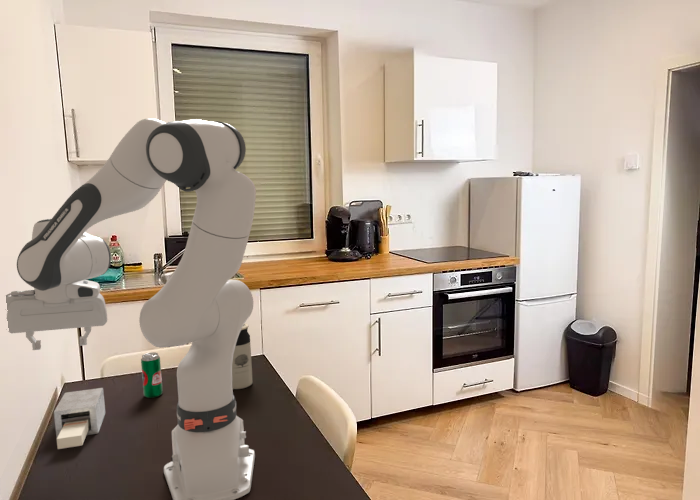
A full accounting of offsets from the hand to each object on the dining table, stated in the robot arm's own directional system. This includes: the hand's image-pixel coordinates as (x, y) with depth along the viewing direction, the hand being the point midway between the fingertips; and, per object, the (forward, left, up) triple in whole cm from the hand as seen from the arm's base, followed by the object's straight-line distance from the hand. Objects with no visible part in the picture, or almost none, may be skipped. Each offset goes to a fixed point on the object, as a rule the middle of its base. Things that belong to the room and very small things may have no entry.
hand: (60, 346), depth 121 cm
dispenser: (+8, -1, -23) cm, 24 cm away
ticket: (+2, -1, -22) cm, 22 cm away
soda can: (+22, -17, -23) cm, 36 cm away
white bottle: (+21, -41, -23) cm, 52 cm away
